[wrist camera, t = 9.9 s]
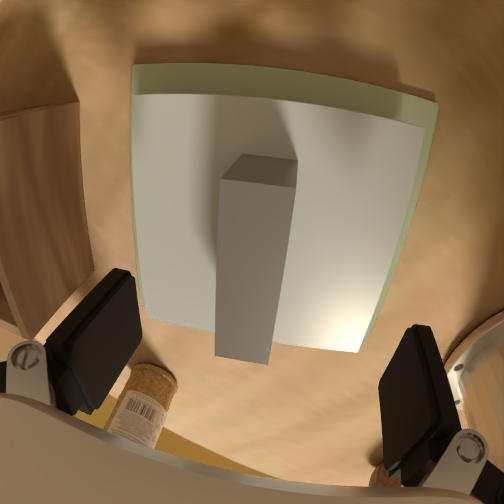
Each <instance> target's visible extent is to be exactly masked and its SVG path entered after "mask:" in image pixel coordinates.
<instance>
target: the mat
mask: <svg viewBox="0 0 504 504" xmlns="http://www.w3.org/2000/svg"><path fill="white" fill-rule="evenodd" d="M154 93H195V94H222V95H239V96H252V97H263V98H273V99H282V100H290V101H298V102H305V103H312V104H319V105H325V106H331V107H337V108H343V109H348V110H353V111H358V112H363V113H368V114H373V115H377V116H382V117H386V118H390V119H395V120H399V121H403V122H406V123H410V124H414V125H418V126H420V127H423V128H425V132H424V137H423V142H422V147H421V152H420V157H419V162H418V166H417V171H416V175H415V180H414V184H413V188H412V192H411V196H410V200H409V204H408V207H407V211H406V215H405V219H404V222H403V226H402V229H401V233H400V236H399V239H398V243H397V246H396V249H395V252H394V256H393V259H392V262H391V265H390V268H389V271H388V274H387V277H386V280H385V283H384V285H383V288H382V291H381V294H380V297H379V299H378V302H377V305H376V308H375V310H374V313H373V315H372V318H371V321H370V323H369V326H368V328H367V331H366V333H365V336H364V338H363V341H362V343H361V344H366V342H367V340H368V338H369V335H370V333H371V331H372V328H373V326H374V324H375V321H376V319H377V316H378V314H379V312H380V309H381V307H382V304H383V302H384V299H385V297H386V294H387V291H388V289H389V286H390V283H391V281H392V278H393V275H394V273H395V270H396V267H397V264H398V261H399V258H400V255H401V253H402V250H403V247H404V244H405V240H406V237H407V234H408V231H409V228H410V225H411V221H412V218H413V215H414V211H415V208H416V204H417V201H418V197H419V193H420V190H421V186H422V182H423V178H424V174H425V170H426V166H427V162H428V157H429V153H430V148H431V144H432V139H433V134H434V129H435V124H436V119H437V113H438V107H439V104H438V103H435V102H432V101H429V100H426V99H423V98H420V97H416V96H413V95H410V94H406V93H403V92H399V91H395V90H392V89H388V88H384V87H380V86H376V85H372V84H368V83H363V82H359V81H354V80H349V79H344V78H339V77H334V76H329V75H323V74H317V73H311V72H304V71H297V70H290V69H282V68H273V67H263V66H251V65H238V64H218V63H157V64H138V65H133V70H132V88H131V118H130V163H131V194H132V213H133V228H134V241H135V252H136V262H137V272H138V281H139V289H140V297H141V305H142V306H144V307H145V302H144V295H143V288H142V280H141V271H140V263H139V253H138V243H137V232H136V220H135V206H134V189H133V165H132V95H136V94H154Z"/></svg>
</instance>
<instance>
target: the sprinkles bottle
mask: <svg viewBox="0 0 504 504" xmlns="http://www.w3.org/2000/svg"><path fill="white" fill-rule="evenodd" d="M177 387H178V386H177V383H176V381H175V379H174V378H173V377H172V376H171V375H170V374H169V373H168V372H166V371H165V370H163V369H162V368H159V367H157V366H154V365H151V364H137V365H136V366H134V367H133V369H132V371H131V375H130V377H129V379H128V381H127V383H126V385H125V387H124V389H123V391H122V393H121V394H120V395H119V397H118V399H117V401H116V403H115V405H114V407H113V409H112V411H111V413H110V415H109V417H108V419H107V423H106V425H105V427H104V429H103V430H105V431H107V432H110V433H112V434H115V435H117V436H120V437H122V438H125V439H127V440H130V441H133V442H135V443H138V444H141V445H144V446H146V447H149V448H152V449H154V448H155V445H156V442H157V439H158V437H159V434H160V432H161V429H162V426H163V424H164V421H165V419H166V414H167V411H168V409H169V406H170V403H171V401H172V398H173V396H174V394H175V393H176V392H177Z"/></svg>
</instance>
